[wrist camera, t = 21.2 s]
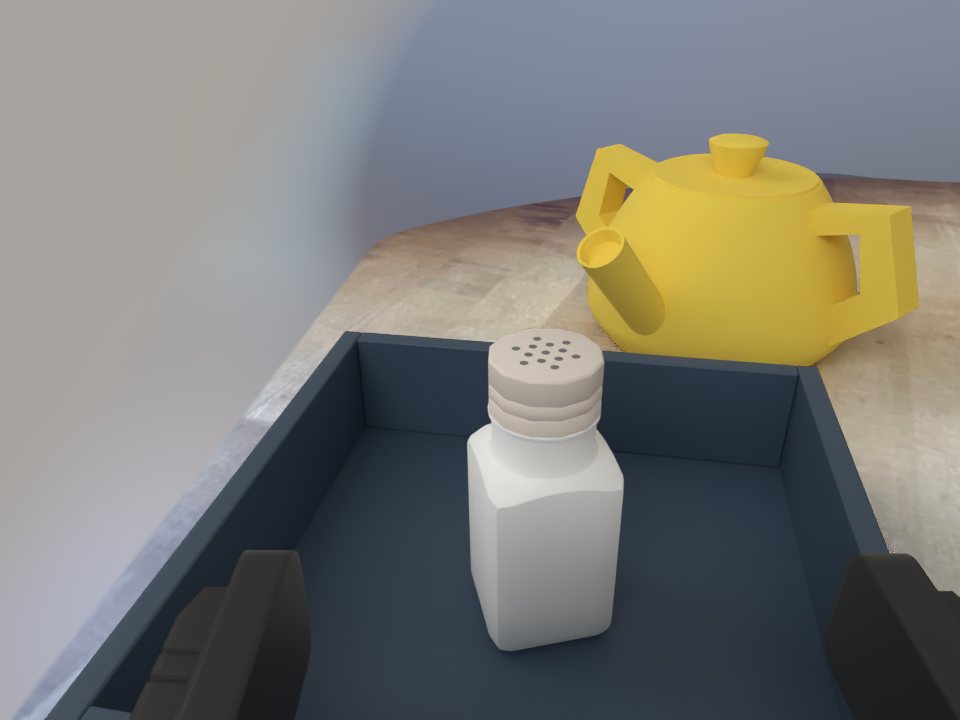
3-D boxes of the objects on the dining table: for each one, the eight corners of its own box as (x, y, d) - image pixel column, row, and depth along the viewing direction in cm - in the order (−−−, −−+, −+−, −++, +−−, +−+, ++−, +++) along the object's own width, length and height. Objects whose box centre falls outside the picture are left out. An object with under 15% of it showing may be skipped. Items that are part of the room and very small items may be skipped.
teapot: (450, 335, 44) (443, 142, 38) (645, 254, 54) (661, 94, 49) (768, 498, 31) (824, 240, 25) (944, 350, 41) (1009, 145, 36)
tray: (95, 860, 19) (33, 730, 17) (355, 426, 36) (344, 330, 33) (948, 1047, 16) (1031, 918, 13) (793, 470, 32) (817, 366, 30)
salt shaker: (468, 570, 27) (459, 328, 22) (576, 553, 27) (590, 314, 23) (493, 663, 23) (490, 399, 19) (617, 640, 24) (643, 379, 19)
